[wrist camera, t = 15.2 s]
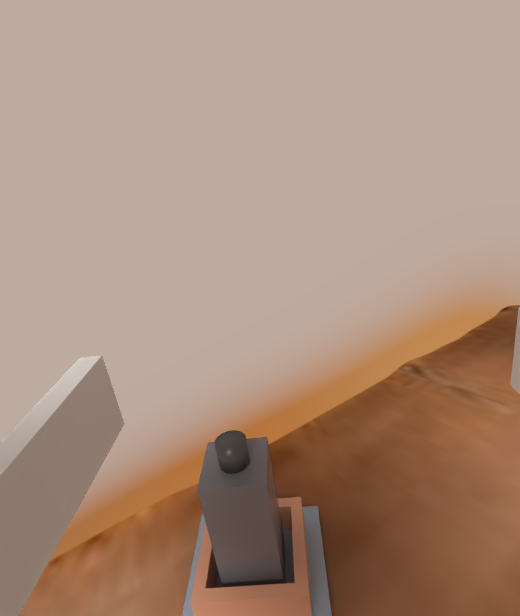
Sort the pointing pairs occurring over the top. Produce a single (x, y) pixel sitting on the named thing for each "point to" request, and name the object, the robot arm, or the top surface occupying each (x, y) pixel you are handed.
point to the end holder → (273, 597)
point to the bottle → (242, 511)
